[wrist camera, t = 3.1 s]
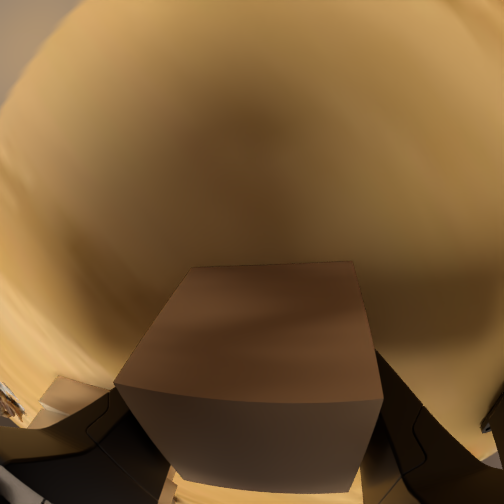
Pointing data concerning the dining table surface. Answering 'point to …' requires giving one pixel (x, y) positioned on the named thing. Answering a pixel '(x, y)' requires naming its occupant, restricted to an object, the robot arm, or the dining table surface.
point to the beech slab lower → (74, 399)
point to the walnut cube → (259, 378)
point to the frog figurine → (9, 404)
